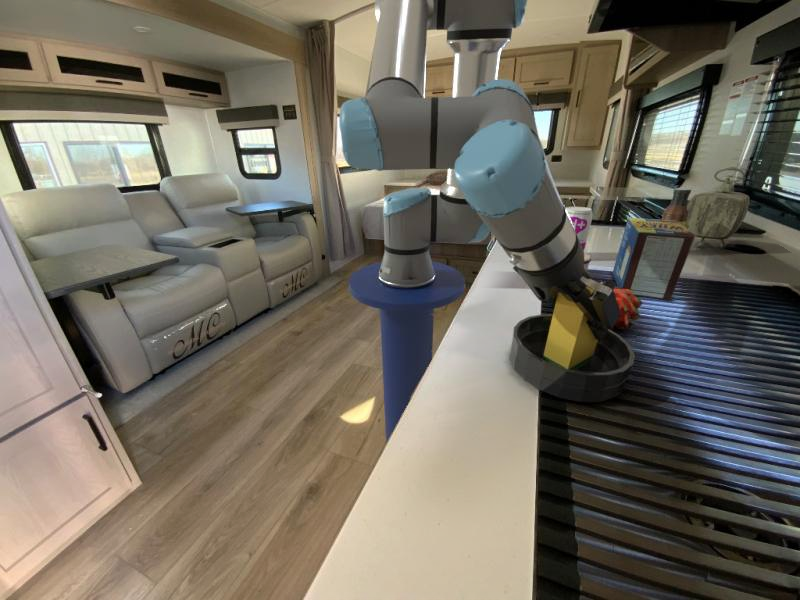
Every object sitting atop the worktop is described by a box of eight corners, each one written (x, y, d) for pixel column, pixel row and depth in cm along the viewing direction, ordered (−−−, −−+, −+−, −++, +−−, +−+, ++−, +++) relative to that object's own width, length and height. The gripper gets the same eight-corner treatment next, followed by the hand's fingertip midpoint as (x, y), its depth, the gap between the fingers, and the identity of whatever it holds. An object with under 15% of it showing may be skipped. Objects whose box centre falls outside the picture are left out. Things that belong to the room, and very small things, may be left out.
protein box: (656, 277, 89) (676, 220, 82) (671, 301, 76) (696, 235, 69) (611, 272, 93) (627, 216, 86) (618, 293, 80) (638, 230, 73)
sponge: (541, 362, 55) (558, 291, 49) (566, 348, 59) (585, 281, 53) (565, 376, 52) (586, 303, 46) (591, 361, 55) (613, 291, 49)
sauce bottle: (678, 252, 107) (702, 189, 99) (671, 256, 104) (695, 191, 95) (654, 248, 112) (675, 186, 103) (647, 251, 109) (668, 188, 100)
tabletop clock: (731, 248, 111) (766, 168, 100) (725, 254, 106) (762, 170, 94) (678, 239, 121) (705, 166, 110) (671, 244, 116) (698, 167, 104)
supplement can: (580, 262, 100) (592, 212, 94) (551, 257, 104) (561, 209, 98) (583, 254, 107) (595, 207, 100) (556, 251, 111) (565, 205, 104)
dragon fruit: (621, 321, 71) (599, 350, 65) (592, 292, 73) (567, 317, 67) (658, 302, 64) (638, 332, 58) (624, 270, 66) (601, 296, 60)
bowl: (528, 330, 66) (532, 305, 63) (629, 361, 56) (639, 333, 54) (493, 375, 54) (497, 346, 51) (615, 424, 44) (627, 392, 42)
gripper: (471, 253, 45) (529, 322, 61) (597, 298, 32) (631, 373, 48) (502, 209, 46) (552, 289, 61) (640, 237, 33) (660, 330, 48)
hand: (587, 326), depth 54 cm, fingers closed on sponge, 4 cm apart
